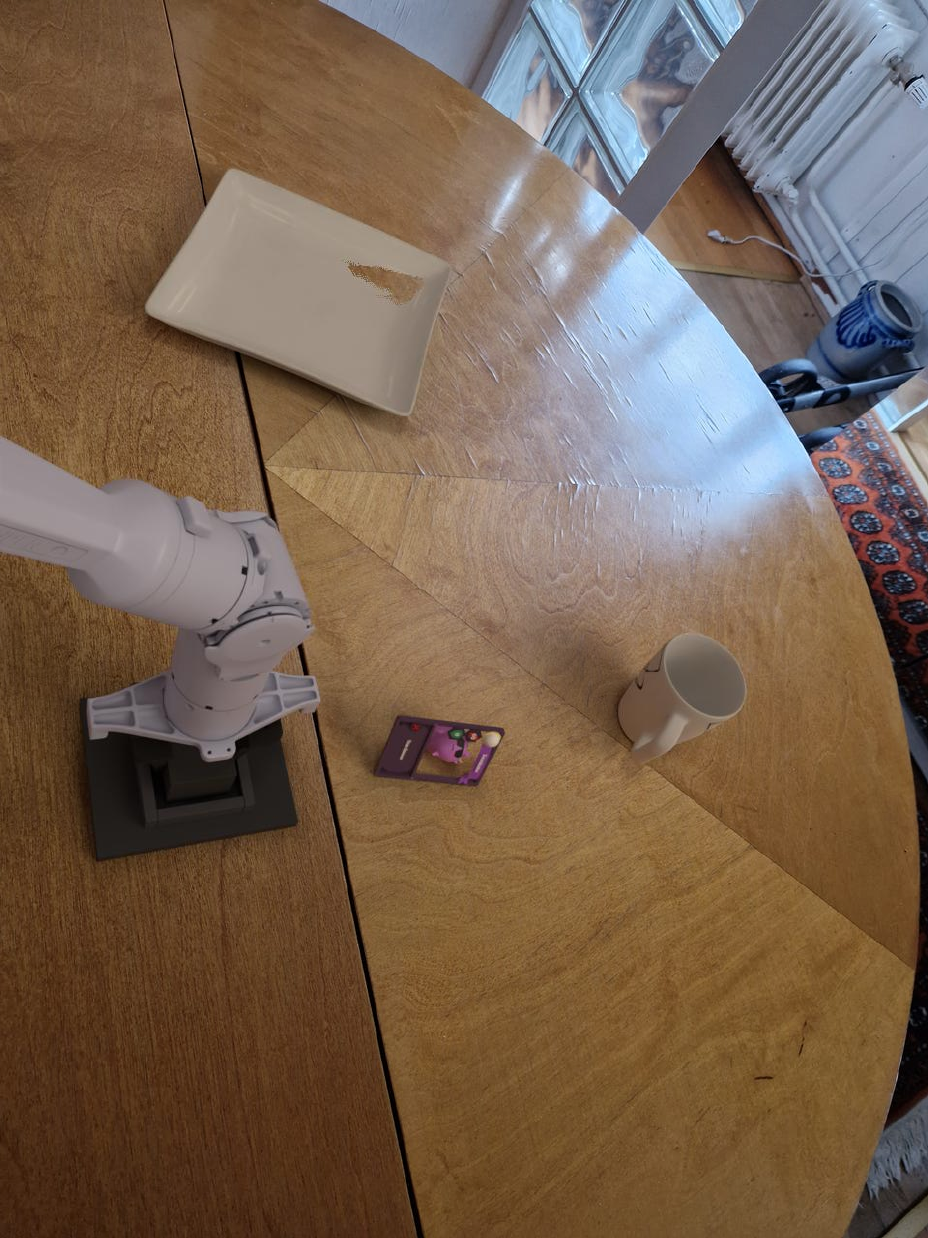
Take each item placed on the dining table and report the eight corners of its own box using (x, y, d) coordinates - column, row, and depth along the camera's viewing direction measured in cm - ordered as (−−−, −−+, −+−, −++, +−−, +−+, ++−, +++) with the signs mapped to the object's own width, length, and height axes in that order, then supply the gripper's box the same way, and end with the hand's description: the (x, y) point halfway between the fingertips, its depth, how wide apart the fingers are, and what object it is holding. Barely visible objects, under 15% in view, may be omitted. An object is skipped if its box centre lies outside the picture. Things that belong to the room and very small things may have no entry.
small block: (164, 804, 64) (170, 784, 61) (153, 727, 66) (158, 705, 63) (228, 794, 66) (237, 774, 63) (215, 720, 68) (222, 698, 65)
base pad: (96, 862, 61) (98, 851, 59) (78, 703, 66) (79, 689, 64) (295, 826, 67) (302, 815, 65) (265, 684, 72) (271, 670, 70)
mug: (657, 805, 81) (722, 764, 73) (581, 751, 80) (638, 704, 73) (694, 715, 88) (757, 669, 80) (624, 665, 88) (680, 614, 80)
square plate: (444, 286, 107) (456, 260, 104) (399, 442, 92) (411, 416, 89) (225, 188, 102) (230, 158, 99) (137, 336, 86) (140, 305, 83)
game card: (399, 725, 67) (507, 738, 70) (391, 678, 71) (495, 692, 74) (374, 783, 71) (479, 793, 74) (369, 735, 75) (468, 746, 78)
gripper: (98, 745, 49) (91, 823, 60) (347, 714, 56) (300, 789, 66) (85, 634, 52) (80, 727, 63) (323, 616, 59) (282, 704, 69)
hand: (192, 753), depth 65 cm, fingers closed on small block, 4 cm apart
